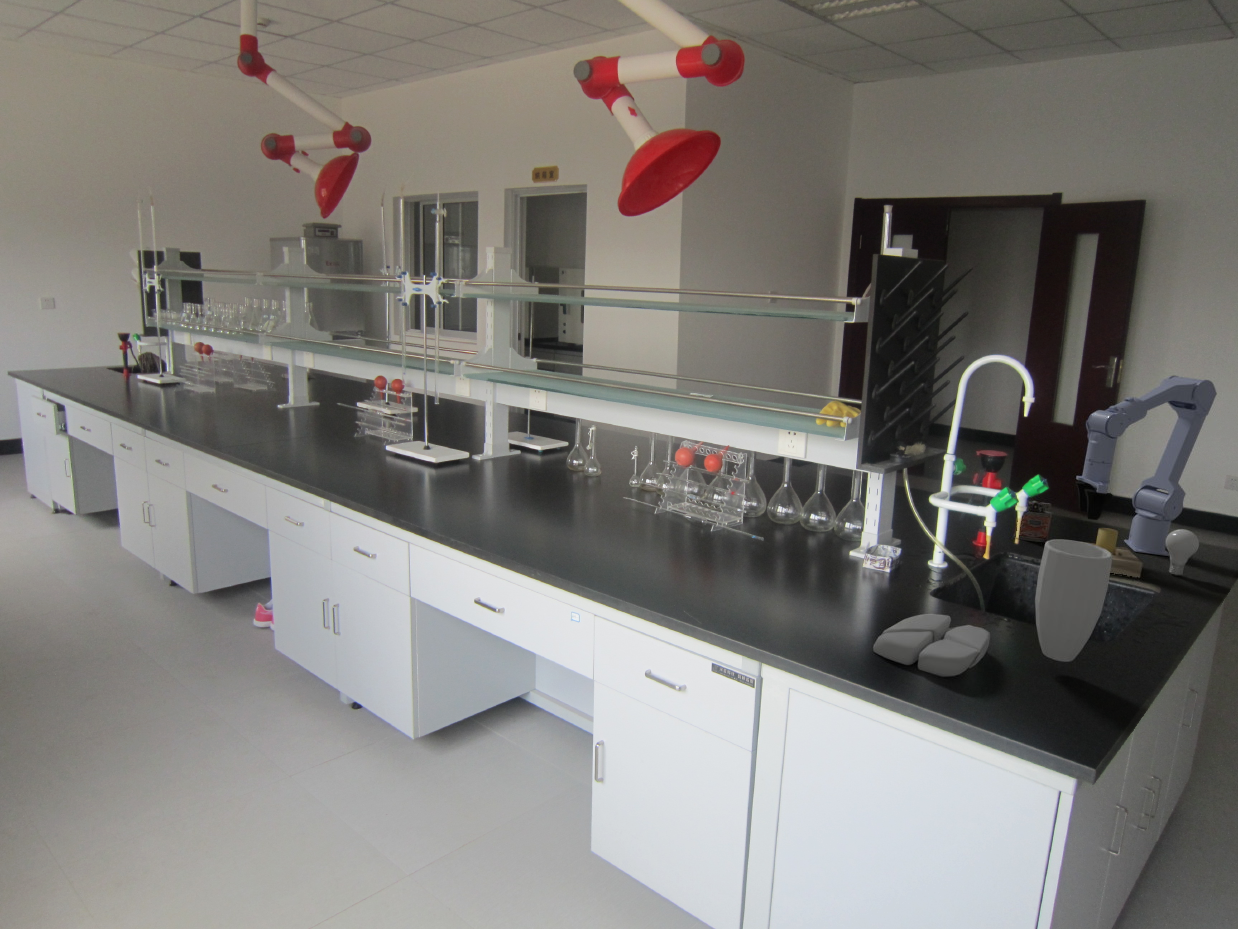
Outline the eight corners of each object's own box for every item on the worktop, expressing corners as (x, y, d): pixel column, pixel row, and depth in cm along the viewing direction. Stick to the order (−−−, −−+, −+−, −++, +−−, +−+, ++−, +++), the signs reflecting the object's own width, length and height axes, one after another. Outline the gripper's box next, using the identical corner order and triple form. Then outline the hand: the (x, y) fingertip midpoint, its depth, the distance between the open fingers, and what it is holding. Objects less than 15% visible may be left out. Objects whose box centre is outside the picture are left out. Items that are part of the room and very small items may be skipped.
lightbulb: (1185, 572, 193) (1195, 528, 190) (1195, 581, 187) (1206, 535, 184) (1154, 568, 195) (1164, 524, 192) (1164, 577, 189) (1174, 531, 186)
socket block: (1069, 554, 202) (1071, 540, 201) (1124, 561, 199) (1126, 547, 198) (1081, 569, 190) (1084, 555, 190) (1139, 577, 187) (1142, 563, 186)
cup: (1030, 651, 144) (1052, 534, 139) (1096, 672, 137) (1122, 550, 133) (1012, 670, 136) (1034, 546, 132) (1081, 693, 130) (1107, 564, 125)
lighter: (1015, 538, 212) (1021, 501, 210) (1012, 535, 215) (1018, 498, 213) (1049, 542, 210) (1056, 505, 208) (1045, 539, 214) (1052, 502, 211)
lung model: (860, 652, 140) (920, 626, 159) (961, 692, 129) (1013, 659, 147) (868, 615, 139) (927, 594, 157) (970, 653, 128) (1021, 625, 146)
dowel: (1090, 559, 198) (1096, 527, 196) (1108, 561, 197) (1114, 529, 195) (1096, 564, 194) (1101, 531, 192) (1114, 566, 193) (1120, 533, 191)
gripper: (1073, 453, 205) (1063, 505, 208) (1088, 464, 192) (1077, 520, 195) (1104, 456, 204) (1094, 509, 207) (1121, 468, 190) (1110, 524, 193)
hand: (1088, 515), depth 201 cm, fingers open, 7 cm apart
